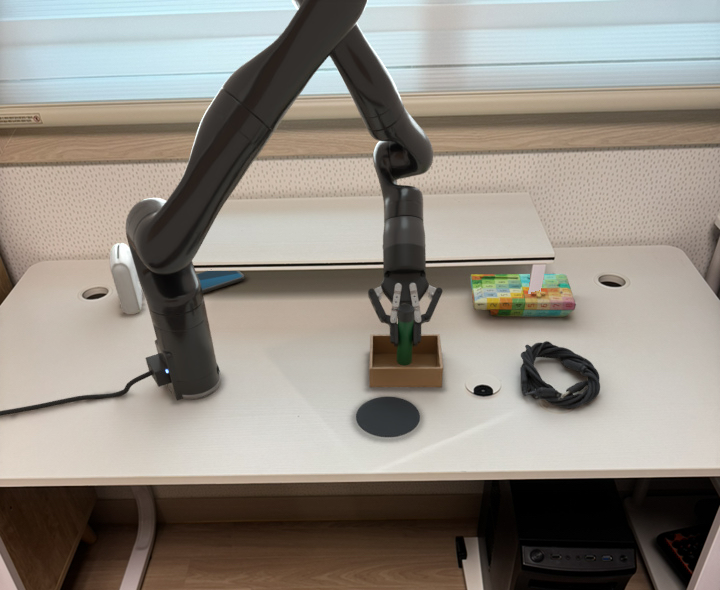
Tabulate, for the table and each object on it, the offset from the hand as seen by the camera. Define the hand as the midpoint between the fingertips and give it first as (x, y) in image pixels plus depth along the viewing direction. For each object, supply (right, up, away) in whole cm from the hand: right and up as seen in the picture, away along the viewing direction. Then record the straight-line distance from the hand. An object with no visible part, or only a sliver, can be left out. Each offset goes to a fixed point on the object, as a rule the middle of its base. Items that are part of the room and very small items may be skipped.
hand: (405, 345), depth 123 cm
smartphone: (-42, +20, +32) cm, 56 cm away
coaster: (-3, -13, -3) cm, 14 cm away
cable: (+28, -6, +4) cm, 29 cm away
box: (0, -4, +6) cm, 7 cm away
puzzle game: (+25, +13, +22) cm, 36 cm away
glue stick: (0, -2, +5) cm, 5 cm away
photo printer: (-57, +14, +26) cm, 64 cm away
